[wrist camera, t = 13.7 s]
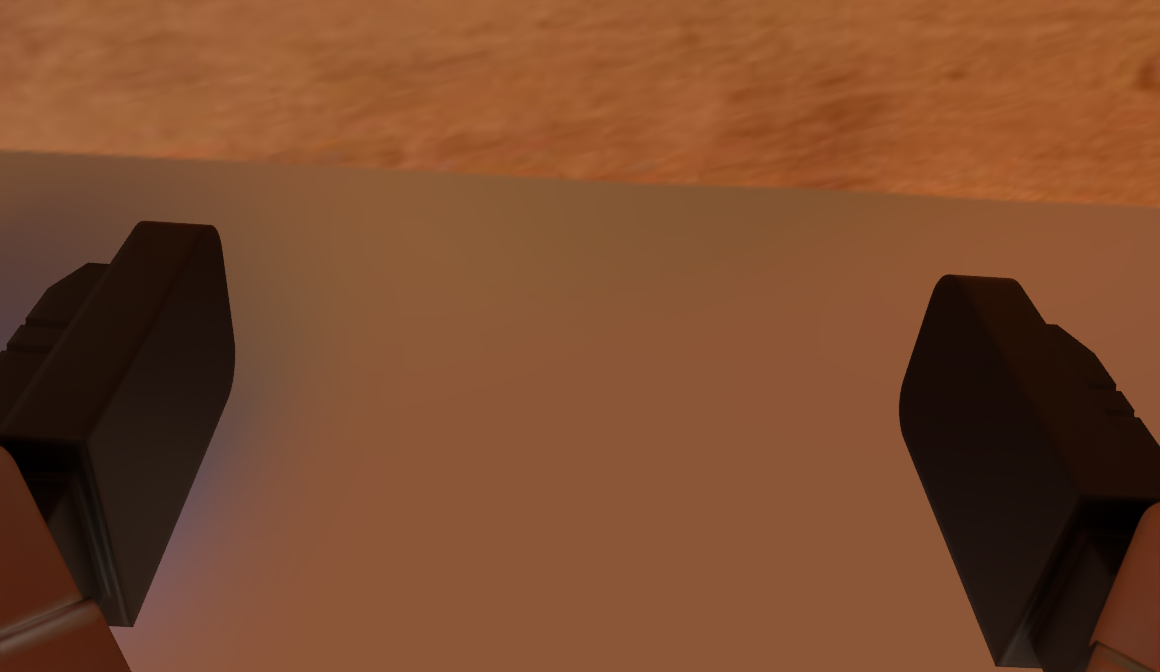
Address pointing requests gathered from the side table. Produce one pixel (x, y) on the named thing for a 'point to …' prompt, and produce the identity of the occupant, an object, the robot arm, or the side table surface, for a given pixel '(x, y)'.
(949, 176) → the side table surface
